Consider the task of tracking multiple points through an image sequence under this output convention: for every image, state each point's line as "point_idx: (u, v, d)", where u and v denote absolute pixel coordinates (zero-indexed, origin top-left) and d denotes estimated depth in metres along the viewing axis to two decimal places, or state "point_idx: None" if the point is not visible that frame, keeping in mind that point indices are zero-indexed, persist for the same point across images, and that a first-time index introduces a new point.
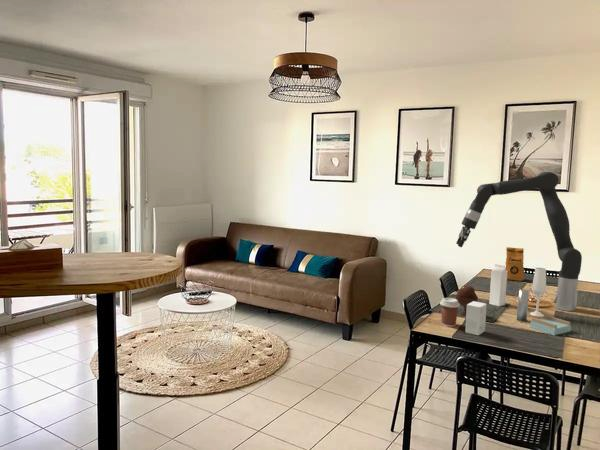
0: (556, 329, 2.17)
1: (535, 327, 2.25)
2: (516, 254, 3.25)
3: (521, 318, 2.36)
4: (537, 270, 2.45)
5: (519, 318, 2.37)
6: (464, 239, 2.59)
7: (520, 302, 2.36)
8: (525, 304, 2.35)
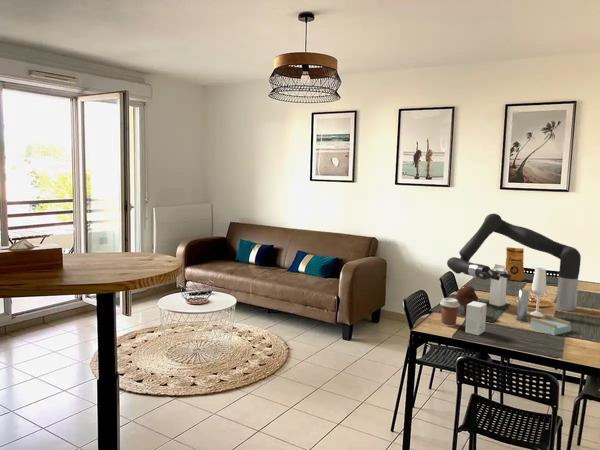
0: (556, 329, 2.17)
1: (535, 327, 2.25)
2: (516, 254, 3.25)
3: (521, 318, 2.36)
4: (537, 270, 2.45)
5: (519, 318, 2.37)
6: (487, 276, 2.46)
7: (520, 302, 2.36)
8: (525, 304, 2.35)
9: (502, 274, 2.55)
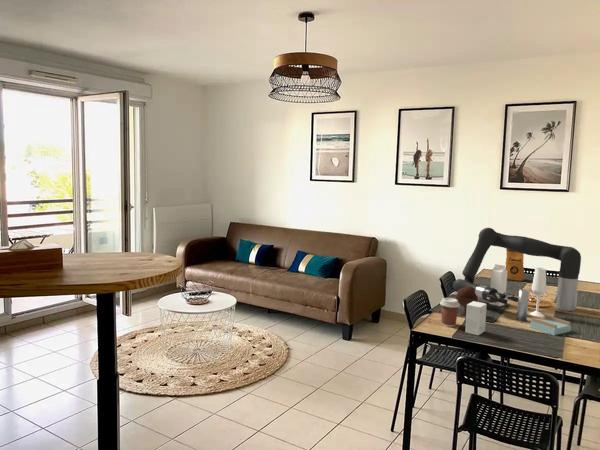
0: (556, 329, 2.17)
1: (535, 327, 2.25)
2: (516, 254, 3.25)
3: (521, 318, 2.36)
4: (537, 270, 2.45)
5: (519, 318, 2.37)
6: (495, 300, 2.43)
7: (520, 302, 2.36)
8: (525, 304, 2.35)
9: (509, 297, 2.52)
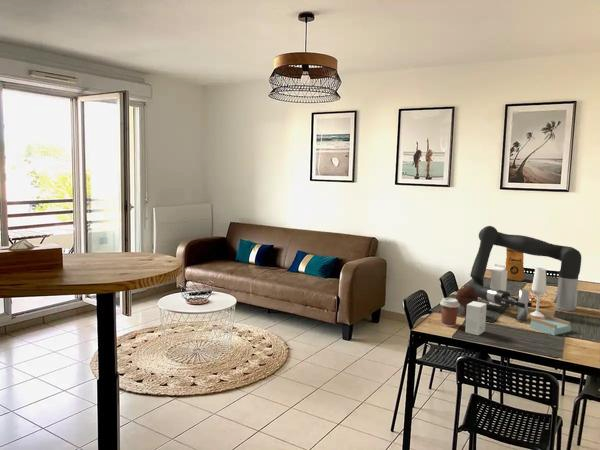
0: (556, 329, 2.17)
1: (535, 327, 2.25)
2: (516, 254, 3.25)
3: (521, 318, 2.36)
4: (537, 270, 2.45)
5: (519, 318, 2.37)
6: (512, 304, 2.36)
7: (520, 302, 2.36)
8: (525, 304, 2.35)
9: None
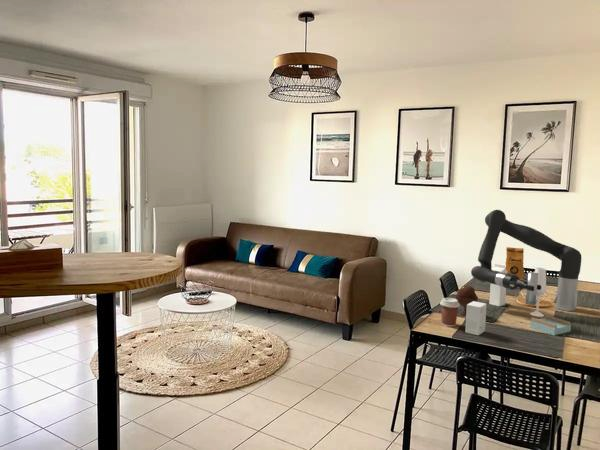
0: (556, 329, 2.17)
1: (535, 327, 2.25)
2: (516, 254, 3.25)
3: (530, 301, 2.31)
4: (537, 270, 2.45)
5: (528, 302, 2.32)
6: (521, 287, 2.32)
7: None
8: (534, 287, 2.30)
9: None
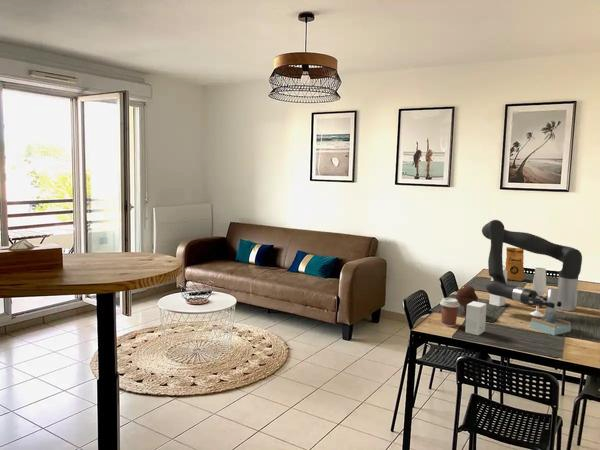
0: (556, 329, 2.17)
1: (535, 327, 2.25)
2: (516, 254, 3.25)
3: (550, 319, 2.23)
4: (537, 270, 2.45)
5: (548, 319, 2.23)
6: (541, 303, 2.23)
7: None
8: (555, 304, 2.21)
9: None
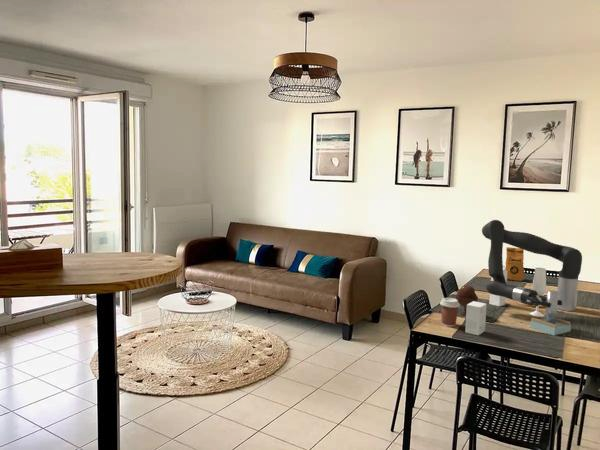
0: (556, 329, 2.17)
1: (535, 327, 2.25)
2: (516, 254, 3.25)
3: (550, 321, 2.23)
4: (537, 270, 2.45)
5: (548, 321, 2.23)
6: (536, 303, 2.23)
7: None
8: (554, 306, 2.22)
9: None
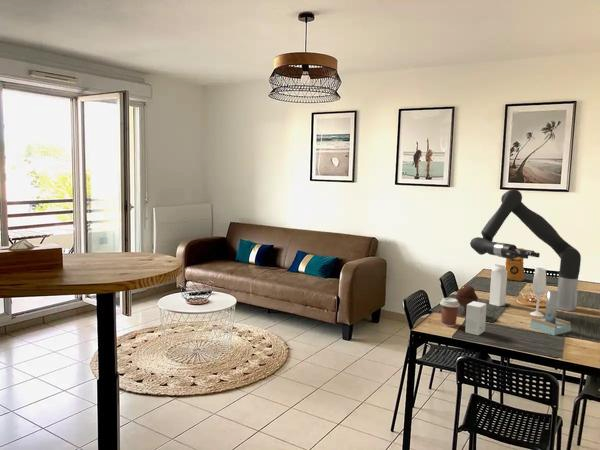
0: (556, 329, 2.17)
1: (535, 327, 2.25)
2: None
3: (549, 321, 2.23)
4: (537, 270, 2.45)
5: (548, 321, 2.23)
6: (515, 255, 2.36)
7: (549, 304, 2.22)
8: (554, 306, 2.22)
9: (529, 253, 2.45)
